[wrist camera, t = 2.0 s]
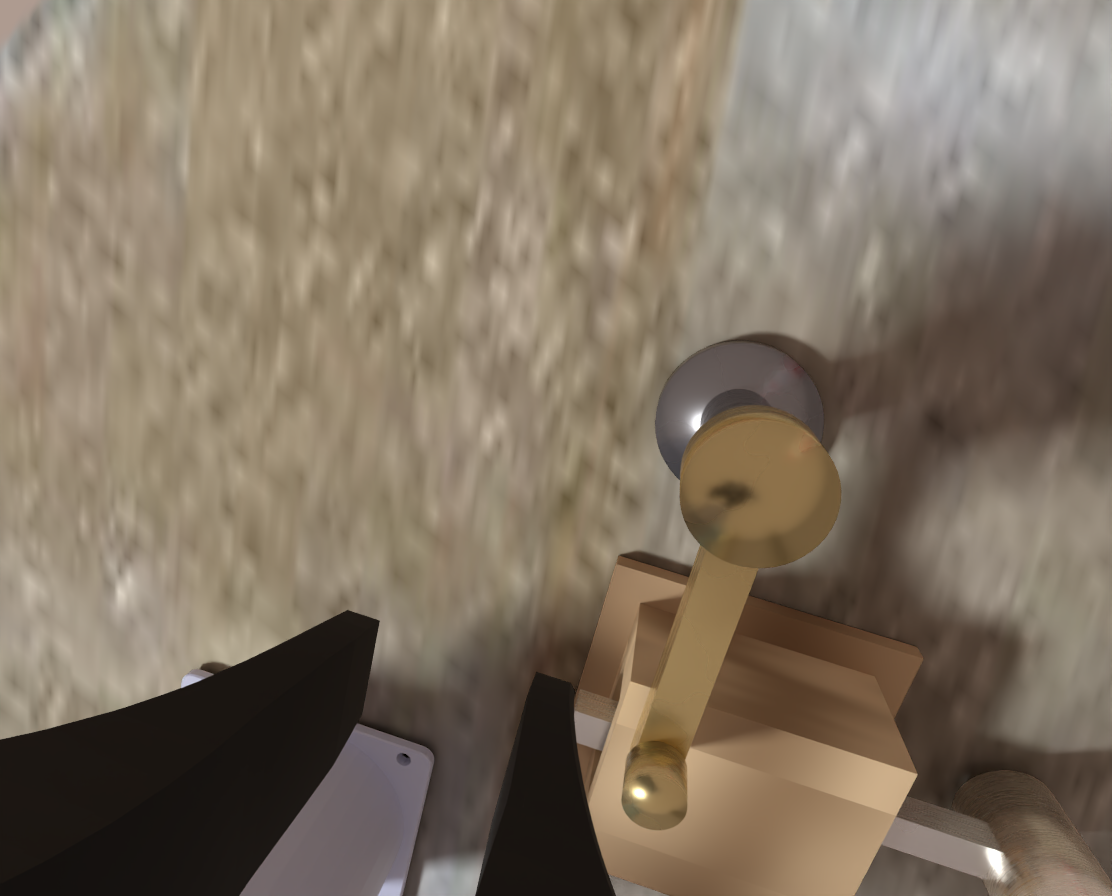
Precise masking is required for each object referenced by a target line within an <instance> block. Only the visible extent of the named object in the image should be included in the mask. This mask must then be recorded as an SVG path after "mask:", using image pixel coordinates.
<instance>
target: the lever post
mask: <svg viewBox="0 0 1112 896" xmlns="http://www.w3.org/2000/svg"><path fill="white" fill-rule="evenodd" d="M748 405H761V406H769V407H774V408H777V409H780V410H783V411H786V412H788V413H790V414H792V415H794V416H795V417H797V418H798V419H800V420H801V421H802V422H804V423H805V424H806V425H807V426H808V427H809V428H810V429H811V430H812V432H813V433H814V434H815V435H816V437H817V438H818V440H819V441H820V443H821V440H822V435H823V429H824V414H823V406H822V402H821V399H820V395H819V393H818V391H817V388H816V386H815V385H814V383H813V381H812V380H811V378H810V377H809V375H808V374H807V373H806V372H805V371H804V369H803V368H802V367H801V366H800V365H799V364H798V363H797V362H796V361H794V360H793V359H792V358H791V357H790V356H788V355H787V354H785V353H784V352H782V351H780V350H778V349H776V348H774V347H772V346H769V345H766V344H763V343H758V342H753V341H742V340H739V341H727V342H722V343H718V344H714V345H711V346H708V347H706V348H704V349H702V350H700V351H698V352H696V353H695V354H693V355H691V356H690V357H688V358H687V359H686V360H685V361H684V362H682V363H681V364H680V365H679V366H678V367H677V368H676V370H675V371H674V372H673V373H672V375H671V376H670V377H669V379H668V380H667V382H666V384H665V386H664V388H663V390H662V392H661V395H660V398H659V402H658V406H657V411H656V421H655V428H656V438H657V443H658V446H659V449H660V452H661V454H662V457H663V459H664V461H665V462H666V464H667V465H668V467H669V469H670V470H671V471H672V472H673V473H674V475H675V476H676V477H677V478H678V479H679V480H680V469H681V462H682V458H683V454H684V451H685V449H686V446H687V445H688V443H689V441H690V439H691V438H692V436H693V435H694V434H695V432H696V431H697V430H698V429H699V428H700V427H701V426H702V425H703V424H704V423H706V422H707V421H708V420H710V419H711V418H713V417H714V416H716V415H718V414H719V413H722V412H724V411H726V410H729V409H733V408H736V407H741V406H748Z"/></svg>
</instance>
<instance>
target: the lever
mask: <svg viewBox="0 0 1112 896" xmlns="http://www.w3.org/2000/svg"><path fill="white" fill-rule="evenodd" d="M840 503H841V484H840V479H839V475H838V472H837V469H836V467H835V465H834V462H833V461H832V459H831V458H830V456H829V454H828V453H827V451H826V450H825V449H824V447H823V446H822V444H821V443H820V441H819V440H818V438H817V437H816V435H815V434H814V433H813V432H812V430H811V429H810V428H809V427H808V426H807V425H806V424H805V423H804V422H802V421H801V420H800V419H798V418H797V417H795V416H794V415H792V414H790V413H788V412H786V411H783V410H780V409H777V408H774V407H769V406H761V405H748V406H741V407H736V408H733V409H729V410H726V411H724V412H722V413H719V414H718V415H716V416H714V417H713V418H711V419H710V420H708V421H707V422H706V423H704V424H703V425H702V426H701V427H700V428H699V429H698V430H697V431H696V432H695V434H694V435H693V436H692V438H691V439H690V441H689V443H688V445H687V446H686V449H685V451H684V454H683V458H682V462H681V469H680V505H681V511H682V514H683V518H684V521H685V523H686V525H687V527H688V529H689V531H690V532H691V534H692V535H693V537H694V538H695V539H696V540H697V541H698V543H699V544H700V547H699V550H698V553H697V556H696V559H695V562H694V565H693V568H692V570H691V573H690V576H689V579H688V582H687V585H686V588H685V591H684V593H683V596H682V599H681V602H680V605H679V608H678V611H677V613H676V616H675V619H674V622H673V625H672V628H671V631H670V634H669V636H668V639H667V642H666V645H665V648H664V651H663V654H662V657H661V659H660V662H659V665H658V668H657V671H656V674H655V677H654V680H653V682H652V685H651V688H650V691H649V694H648V697H647V700H646V703H645V705H644V708H643V711H642V714H641V717H640V720H639V723H638V725H637V728H636V731H635V734H634V737H633V740H632V743H631V746H630V752H629V753H628V755H627V758H626V763H625V772H624V780H623V789H622V798H621V802H622V807H623V810H624V812H625V813H626V815H627V816H628V817H629V818H630V819H631V820H632V821H633V822H634V823H636V824H637V825H639V826H641V827H643V828H646V829H650V830H667V829H670V828H673V827H675V826H677V825H678V824H679V823H680V822H681V821H682V820H683V819H684V818H685V816H686V813H687V764H686V761H685V759H686V757H687V754H688V751H689V749H690V746H691V744H692V741H693V738H694V736H695V733H696V731H697V728H698V725H699V723H700V720H701V717H702V715H703V712H704V710H705V707H706V704H707V702H708V699H709V697H710V694H711V691H712V689H713V686H714V684H715V681H716V678H717V676H718V673H719V670H720V668H721V665H722V663H723V660H724V657H725V655H726V652H727V650H728V647H729V644H730V642H731V639H732V637H733V634H734V631H735V629H736V626H737V624H738V621H739V618H740V616H741V613H742V610H743V608H744V605H745V603H746V600H747V597H748V595H749V592H750V590H751V587H752V584H753V582H754V579H755V577H756V574H757V571H758V569H759V568H770V567H776V566H781V565H785V564H788V563H790V562H793V561H795V560H797V559H799V558H801V557H803V556H805V555H806V554H808V553H809V552H811V551H812V550H813V549H815V548H816V547H817V546H818V545H819V544H820V543H821V542H822V541H823V540H824V539H825V538H826V536H827V535H828V533H829V532H830V530H831V529H832V527H833V525H834V523H835V521H836V519H837V516H838V513H839V509H840Z"/></svg>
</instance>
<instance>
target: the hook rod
mask: <svg viewBox="0 0 1112 896" xmlns="http://www.w3.org/2000/svg"><path fill="white" fill-rule="evenodd" d="M618 703H619V702H618V701H615V700H612V699H609V698H606V697H603V696H600V695H597V694H594V693H591V692H588V691H585V690H582V689H580V691H579V695H578V698H577V701H576V704H575V708H574V720H575V731H576V741H577V743H579V744H582V745H585V746H588V747H591V748H594V749H597V750H600V751H603V748H604V745H605V742H606V739H607V736H608V733H609V730H610V727H611V724H612V721H613V718H614V715H615V712H616V709H617V706H618ZM881 845H883V846H886V847H889V848H892V849H895V850H898V851H901V852H904V853H907V854H910V855H913V856H916V857H919V858H922V859H925V860H928V861H931V862H934V863H937V864H940V865H943V866H946V867H949V868H952V869H955V870H958V871H961V872H964V873H967V874H970V875H973V876H976V877H979V878H982V881H983V883H984V885H985V887H986V889H987V891H988V893H989V895H990V896H1112V882H1111V880H1110V879H1109V877H1108V876H1107V874H1106V873H1105V871H1104V870H1103V868H1102V867H1101V865H1100V864H1099V862H1098V861H1097V859H1096V858H1095V856H1094V855H1093V853H1092V852H1091V850H1090V849H1089V847H1088V846H1087V844H1086V843H1085V841H1084V840H1083V838H1082V837H1081V835H1080V834H1079V832H1078V831H1077V829H1076V828H1075V827H1074V825H1073V824H1072V822H1071V821H1070V819H1069V818H1068V816H1067V815H1066V813H1065V812H1064V810H1063V809H1062V807H1061V806H1060V804H1059V803H1058V801H1057V800H1056V798H1055V797H1054V795H1053V794H1052V792H1051V791H1050V789H1049V788H1048V787H1047V786H1046V785H1045V784H1044V783H1043V782H1041V781H1040V780H1038V779H1037V778H1035V777H1033V776H1031V775H1028V774H1026V773H1022V772H1018V771H1012V770H997V771H990V772H986V773H983V774H980V775H978V776H976V777H974V778H972V779H970V780H969V781H967V782H966V783H965V784H964V785H962V787H961V788H960V789H959V790H958V792H957V793H956V795H955V797H954V800H953V803H952V811H951V810H948V809H945V808H942V807H939V806H936V805H933V804H930V803H927V802H924V801H921V800H918V799H915V798H911V797H908V796H906V798H905V800H904V802H903V804H902V806H901V808H900V809H899V811H898V813H897V815H896V817H895V819H894V821H893V823H892V825H891V827H890V829H889V830H888V832H887V834H886V836H885V838H884V840H883V842H882V844H881Z"/></svg>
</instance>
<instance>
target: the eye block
mask: <svg viewBox="0 0 1112 896" xmlns="http://www.w3.org/2000/svg"><path fill="white" fill-rule="evenodd" d="M688 579H689V577H687V576H684V575H681V574H677V573H674V572H671V571H668V570H664V569H661V568H658V567H654V566H651V565H648V564H645V563H641V562H638V561H635V560H632V559H628V558H625V557H622V556H618V559H617V562H616V565H615V569H614V572H613V575H612V578H611V582H610V585H609V588H608V591H607V595H606V598H605V601H604V604H603V608H602V611H601V614H600V617H599V621H598V624H597V627H596V630H595V634H594V637H593V640H592V643H591V647H590V650H589V653H588V656H587V660H586V663H585V666H584V669H583V673H582V676H581V679H580V682H579V686H578V689H577V692H576V695H575V699H574V708H575V704H576V701H577V698H578V695H579V691H580V689H582V690H585V691H588V692H591V693H594V694H597V695H600V696H603V697H606V698H609V699H612V700H615V701H618V702H619V703H618V706H617V709H616V712H615V715H614V718H613V721H612V724H611V727H610V730H609V733H608V736H607V739H606V742H605V745H604V748H603V751H600V750H597V749H594V748H591V747H588V746H585V745H582V744H579V743H577V748H578V755H579V761H580V767H581V772H582V778H583V783H584V788H585V793H586V797H587V802H588V806H589V810H590V814H591V818H592V822H593V826H594V830H595V833H596V837H597V840H598V844H599V847H600V851H601V854H602V857H603V860H604V863H605V866H606V869H607V872H608V874H610V875H613V876H616V877H618V878H621V879H624V880H627V881H630V882H633V883H635V884H638V885H641V886H644V887H647V888H650V889H652V890H655V891H658V892H661V893H664V894H667V895H669V896H854V895H855V893H856V892H857V890H858V888H859V886H860V884H861V882H862V880H863V878H864V876H865V874H866V872H867V871H868V869H869V867H870V865H871V863H872V861H873V859H874V857H875V855H876V853H877V851H878V850H879V848H880V846H881V844H882V842H883V840H884V838H885V836H886V834H887V832H888V830H889V829H890V827H891V825H892V823H893V821H894V819H895V817H896V815H897V813H898V811H899V809H900V808H901V806H902V804H903V802H904V800H905V798H906V796H907V794H908V792H909V790H910V789H911V787H912V785H913V783H914V781H915V779H916V777H917V775H918V774H917V771H916V769H915V767H914V764H913V762H912V760H911V758H910V755H909V753H908V751H907V749H906V746H905V744H904V742H903V739H902V737H901V735H900V733H899V730H898V728H897V726H896V724H895V721H894V718H895V716H896V714H897V712H898V710H899V708H900V706H901V704H902V702H903V700H904V698H905V696H906V694H907V692H908V690H909V688H910V686H911V684H912V682H913V680H914V678H915V676H916V673H917V671H918V669H919V667H920V665H921V663H922V661H923V659H924V658H923V656H922V655H921V653H920V651H919V650H918V648H917V647H915V646H912V645H909V644H906V643H902V642H899V641H896V640H893V639H889V638H886V637H883V636H879V635H876V634H873V633H870V632H866V631H863V630H860V629H857V628H853V627H850V626H847V625H844V624H840V623H837V622H834V621H831V620H827V619H824V618H821V617H818V616H814V615H811V614H808V613H804V612H801V611H798V610H795V609H791V608H788V607H785V606H782V605H778V604H775V603H772V602H769V601H765V600H762V599H759V598H756V597H752V596H749V595H748V597H747V600H746V603H745V605H744V608H743V610H742V613H741V616H740V618H739V621H738V624H737V626H736V629H735V631H734V634H733V637H732V639H731V642H730V644H729V647H728V650H727V652H726V655H725V657H724V660H723V663H722V665H721V668H720V670H719V673H718V676H717V678H716V681H715V684H714V686H713V689H712V691H711V694H710V697H709V699H708V702H707V704H706V707H705V710H704V712H703V715H702V717H701V720H700V723H699V725H698V728H697V731H696V733H695V736H694V738H693V741H692V744H691V746H690V749H689V751H688V754H687V757H686V759H685V761H686V764H687V813H686V816H685V818H684V819H683V820H682V821H681V822H680V823H679V824H678V825H677V826H675V827H673V828H670V829H667V830H650V829H646V828H643V827H641V826H639V825H637V824H636V823H634V822H633V821H632V820H631V819H630V818H629V817H628V816H627V815H626V813H625V812H624V810H623V807H622V802H621V798H622V789H623V780H624V772H625V763H626V758H627V755H628V753H629V752H630V746H631V743H632V740H633V737H634V734H635V731H636V728H637V725H638V723H639V720H640V717H641V714H642V711H643V708H644V705H645V703H646V700H647V697H648V694H649V691H650V688H651V685H652V682H653V680H654V677H655V674H656V671H657V668H658V665H659V662H660V659H661V657H662V654H663V651H664V648H665V645H666V642H667V639H668V636H669V634H670V631H671V628H672V625H673V622H674V619H675V616H676V613H677V611H678V608H679V605H680V602H681V599H682V596H683V593H684V591H685V588H686V585H687V582H688Z"/></svg>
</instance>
